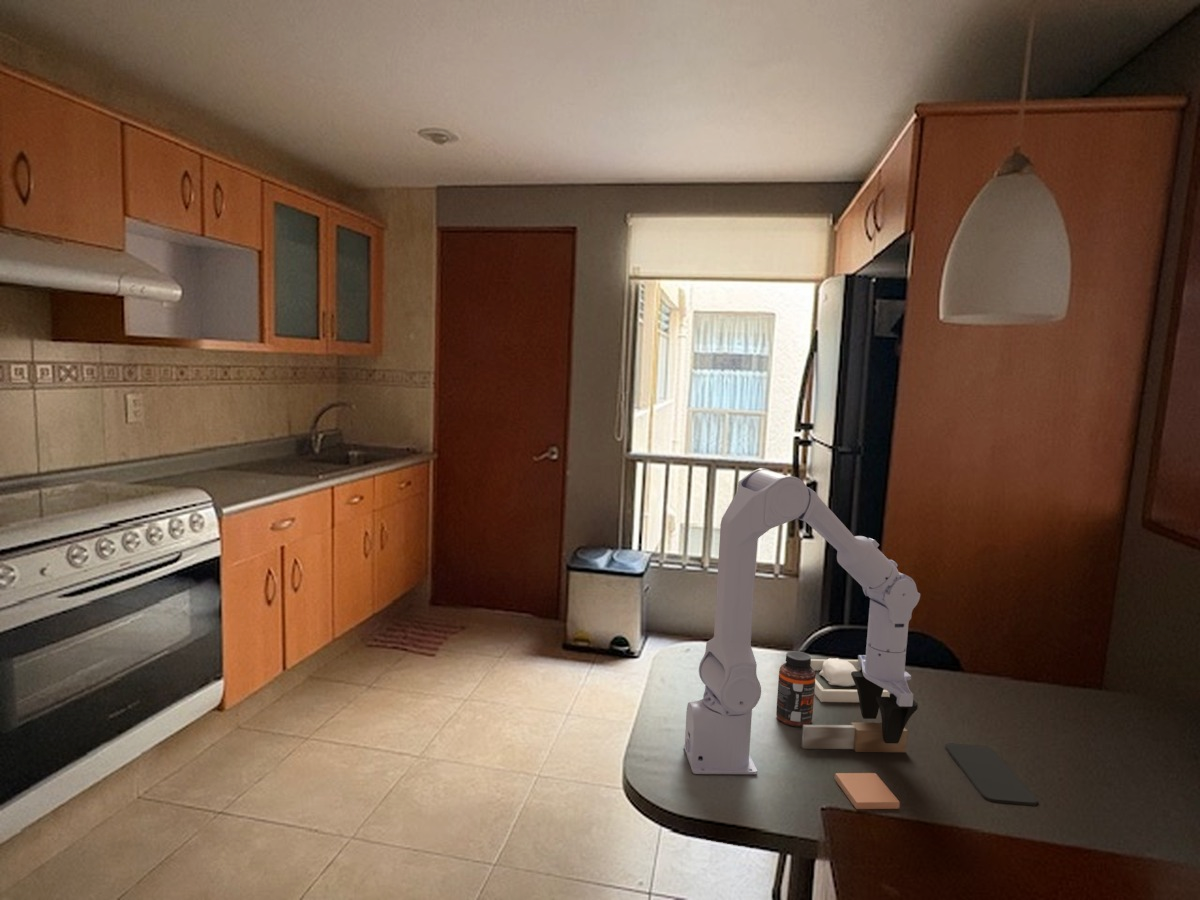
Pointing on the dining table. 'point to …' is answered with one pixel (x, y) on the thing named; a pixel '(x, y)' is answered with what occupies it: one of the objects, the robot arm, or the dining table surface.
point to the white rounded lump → (838, 672)
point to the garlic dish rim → (836, 694)
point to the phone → (990, 774)
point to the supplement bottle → (796, 690)
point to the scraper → (850, 738)
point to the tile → (866, 791)
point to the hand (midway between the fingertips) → (879, 729)
